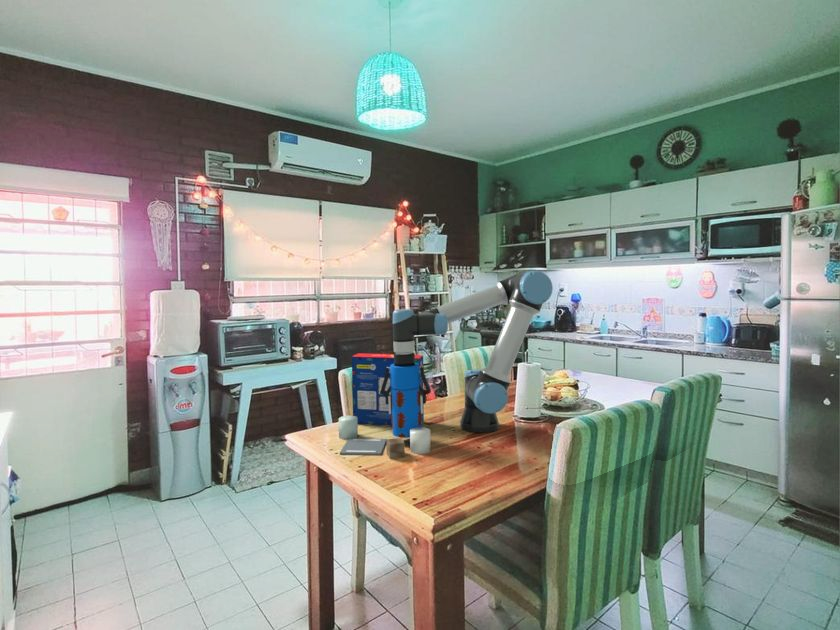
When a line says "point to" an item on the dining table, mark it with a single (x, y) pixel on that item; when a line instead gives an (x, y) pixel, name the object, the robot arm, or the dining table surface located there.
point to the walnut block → (395, 448)
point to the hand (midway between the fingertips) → (406, 412)
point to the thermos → (405, 399)
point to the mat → (363, 446)
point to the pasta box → (373, 387)
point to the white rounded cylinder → (420, 440)
